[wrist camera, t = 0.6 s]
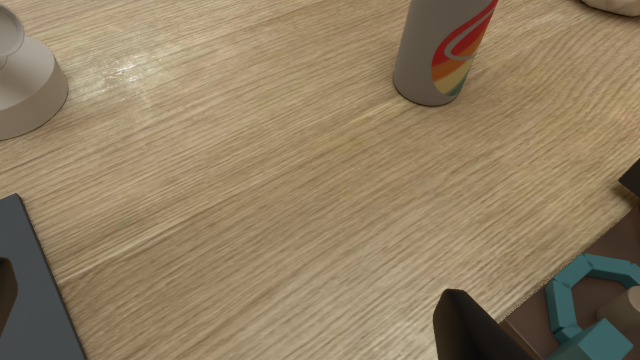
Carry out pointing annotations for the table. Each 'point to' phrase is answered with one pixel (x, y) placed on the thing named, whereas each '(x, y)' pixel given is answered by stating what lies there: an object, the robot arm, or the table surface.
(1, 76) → the wall hook
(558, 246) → the table surface
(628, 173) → the ring charcoal
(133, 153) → the table surface
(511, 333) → the peg rack
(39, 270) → the mat
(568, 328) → the ring teal
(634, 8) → the vase
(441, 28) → the lotion bottle
